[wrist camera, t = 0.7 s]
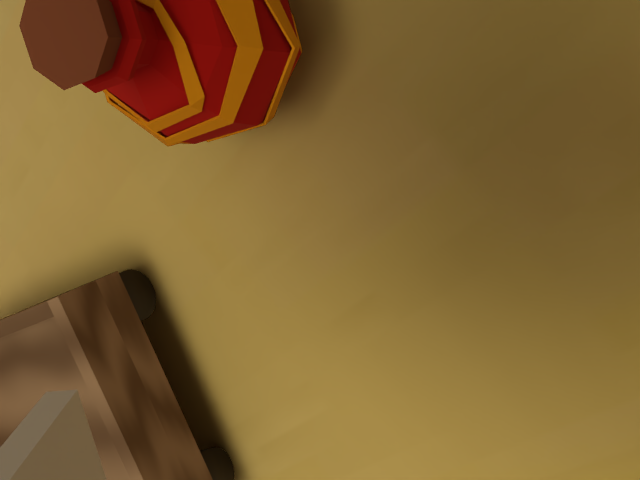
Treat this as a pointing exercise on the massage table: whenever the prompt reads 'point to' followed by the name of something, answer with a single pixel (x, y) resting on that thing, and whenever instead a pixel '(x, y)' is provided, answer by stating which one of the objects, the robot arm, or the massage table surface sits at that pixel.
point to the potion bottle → (170, 59)
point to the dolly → (104, 379)
